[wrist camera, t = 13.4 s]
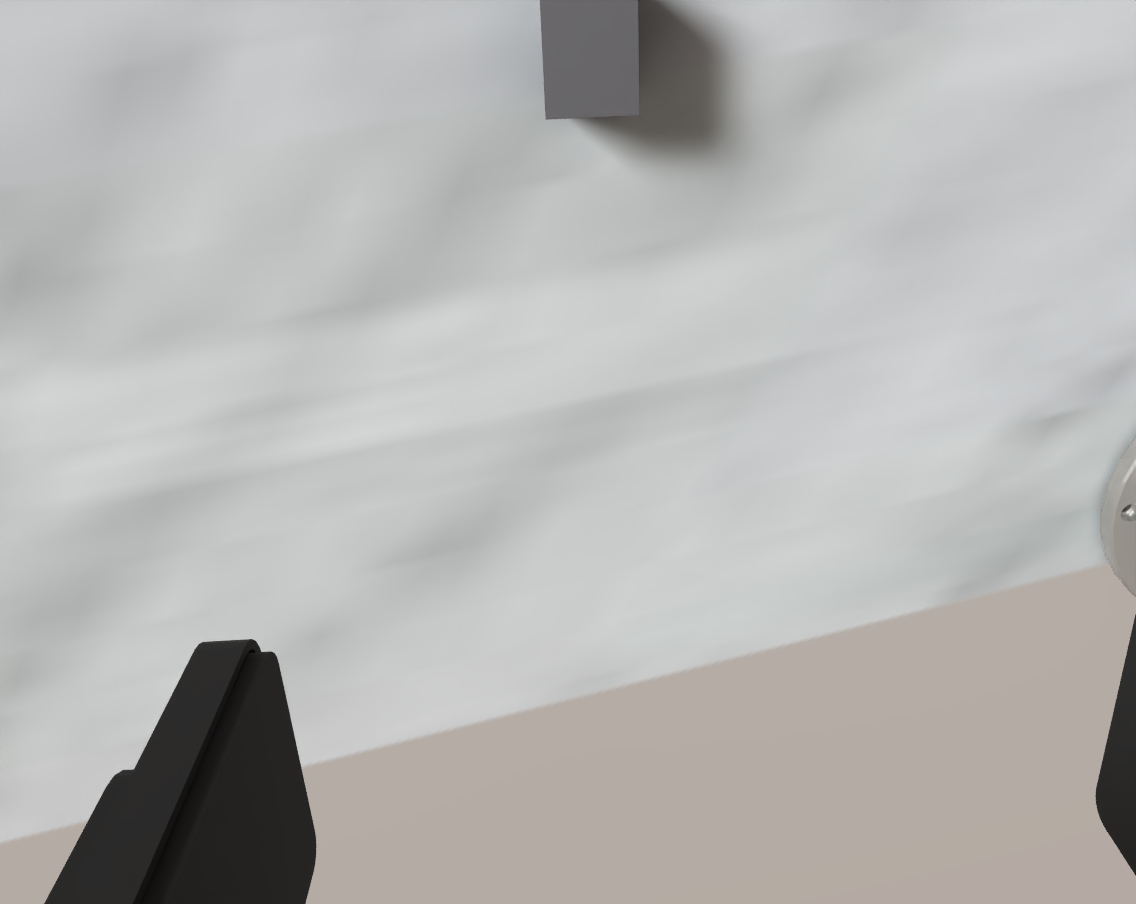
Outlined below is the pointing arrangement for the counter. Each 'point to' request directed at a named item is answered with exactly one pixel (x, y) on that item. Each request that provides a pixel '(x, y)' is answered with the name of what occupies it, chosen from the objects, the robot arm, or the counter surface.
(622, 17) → the grey rectangular block
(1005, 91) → the counter surface
